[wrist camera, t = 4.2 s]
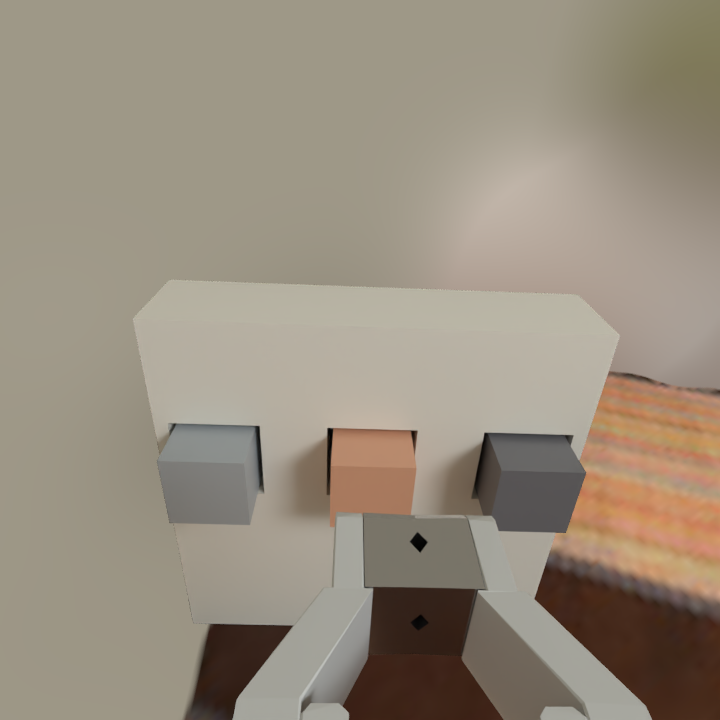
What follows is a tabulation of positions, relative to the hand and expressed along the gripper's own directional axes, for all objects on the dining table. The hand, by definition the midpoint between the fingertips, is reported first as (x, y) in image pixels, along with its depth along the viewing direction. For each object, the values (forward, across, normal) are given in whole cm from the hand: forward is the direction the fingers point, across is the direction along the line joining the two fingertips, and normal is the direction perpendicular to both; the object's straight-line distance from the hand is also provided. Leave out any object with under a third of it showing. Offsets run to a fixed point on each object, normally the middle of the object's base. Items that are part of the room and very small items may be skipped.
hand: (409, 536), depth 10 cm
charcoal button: (+13, +8, -12) cm, 19 cm away
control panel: (+16, 0, -24) cm, 29 cm away
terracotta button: (+13, 0, -12) cm, 18 cm away
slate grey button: (+13, -8, -12) cm, 19 cm away
